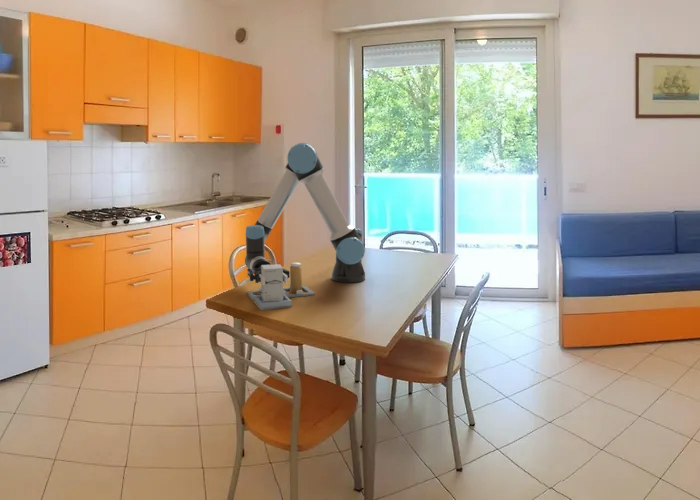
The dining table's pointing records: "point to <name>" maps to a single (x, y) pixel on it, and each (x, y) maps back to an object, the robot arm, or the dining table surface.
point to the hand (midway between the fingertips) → (275, 280)
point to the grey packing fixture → (298, 293)
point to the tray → (272, 303)
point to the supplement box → (272, 282)
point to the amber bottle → (295, 277)
